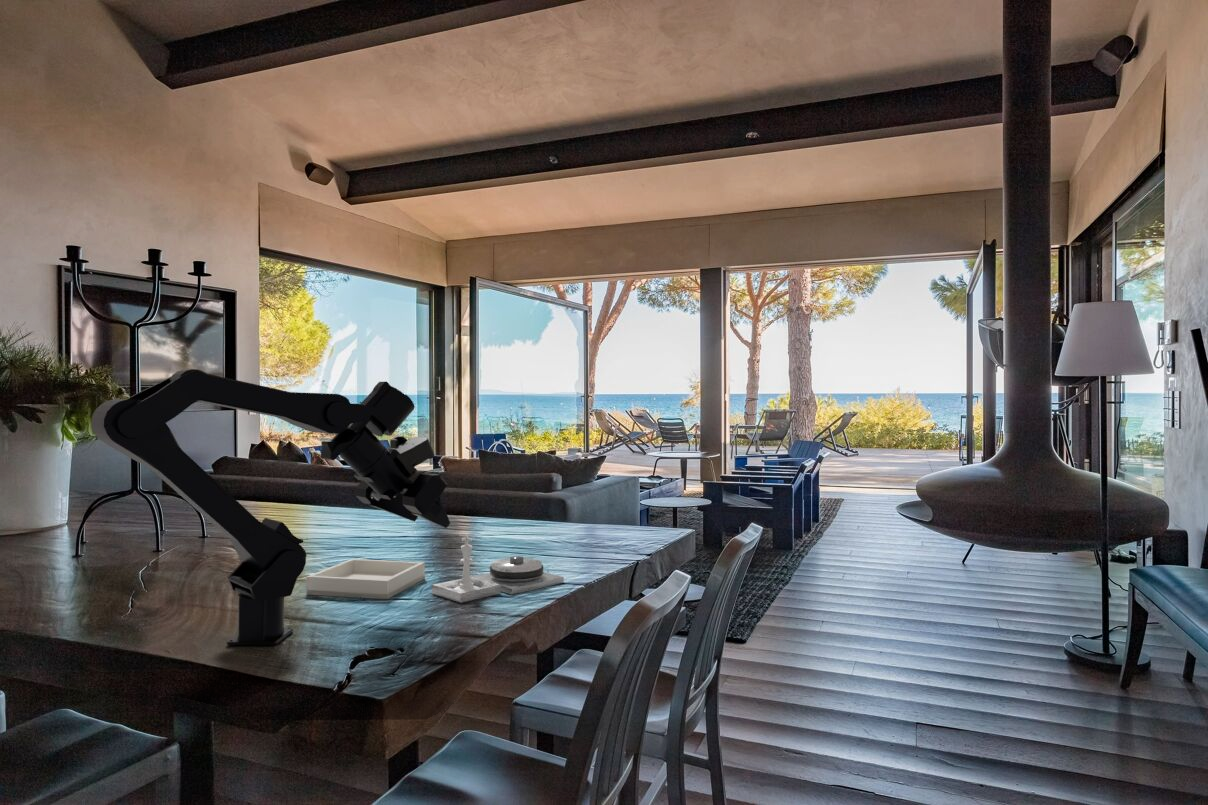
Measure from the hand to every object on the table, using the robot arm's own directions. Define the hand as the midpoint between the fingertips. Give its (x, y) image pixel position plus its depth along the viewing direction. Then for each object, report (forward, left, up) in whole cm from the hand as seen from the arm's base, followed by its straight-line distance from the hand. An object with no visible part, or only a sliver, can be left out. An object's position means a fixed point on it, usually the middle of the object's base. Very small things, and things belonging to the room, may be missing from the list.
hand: (431, 522), depth 120 cm
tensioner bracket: (+9, -9, -13) cm, 19 cm away
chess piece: (+5, -5, -13) cm, 15 cm away
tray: (+10, +13, -13) cm, 21 cm away
